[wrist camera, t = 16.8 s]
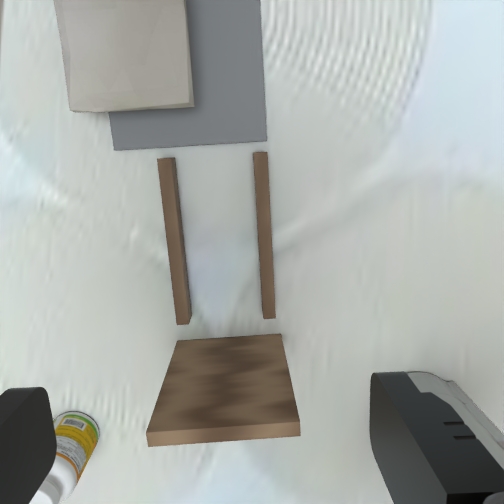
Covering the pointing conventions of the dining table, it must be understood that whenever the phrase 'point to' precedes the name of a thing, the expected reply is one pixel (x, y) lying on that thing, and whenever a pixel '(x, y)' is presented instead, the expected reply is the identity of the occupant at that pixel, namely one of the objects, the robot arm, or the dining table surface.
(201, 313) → the dining table surface
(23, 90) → the dining table surface
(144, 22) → the packaged product
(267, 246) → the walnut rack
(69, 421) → the supplement bottle
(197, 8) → the charcoal pad
